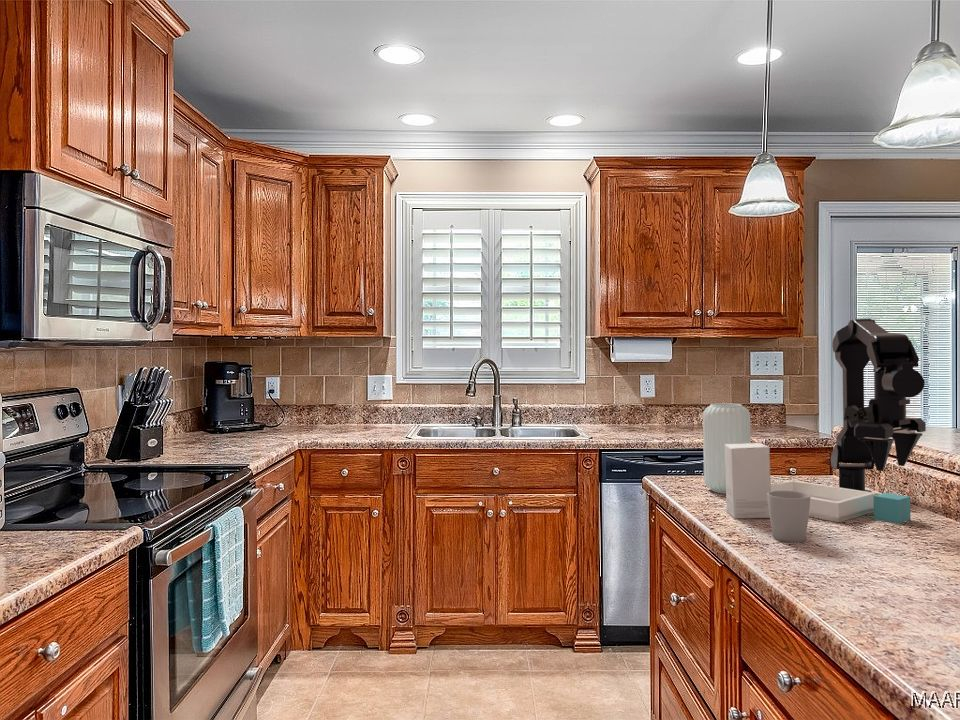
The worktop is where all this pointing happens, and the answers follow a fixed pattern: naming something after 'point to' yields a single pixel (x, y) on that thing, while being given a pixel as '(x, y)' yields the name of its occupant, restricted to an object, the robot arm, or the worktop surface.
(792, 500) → the cup
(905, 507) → the teal block
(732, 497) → the skincare box
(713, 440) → the vase
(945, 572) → the worktop surface
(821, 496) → the grey tray
